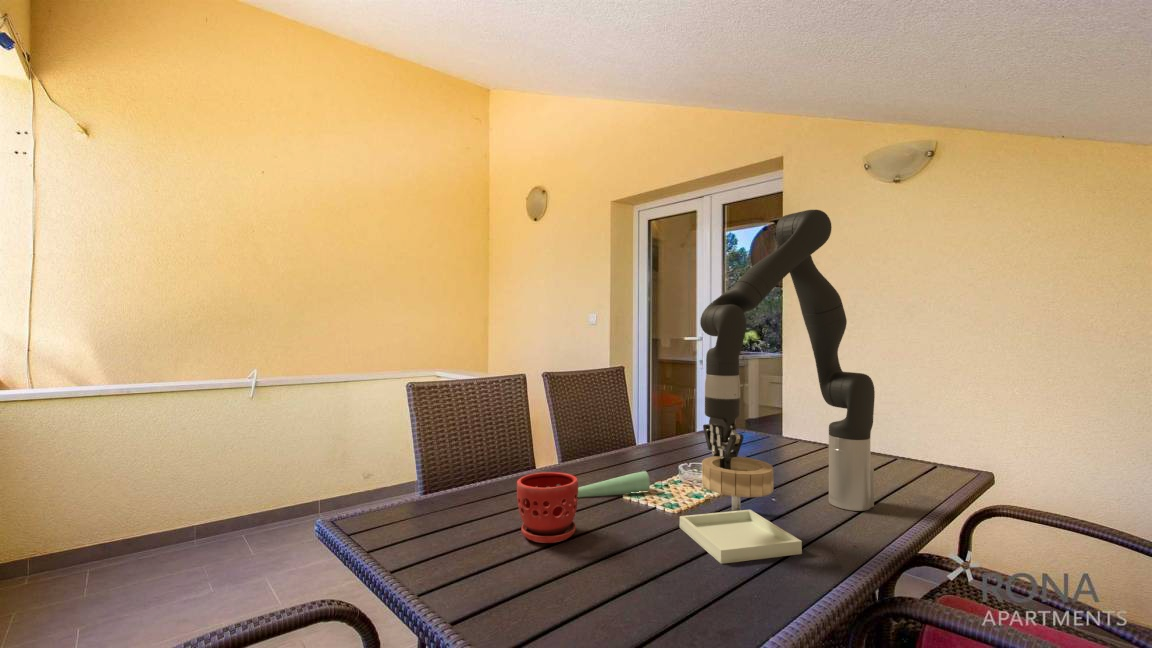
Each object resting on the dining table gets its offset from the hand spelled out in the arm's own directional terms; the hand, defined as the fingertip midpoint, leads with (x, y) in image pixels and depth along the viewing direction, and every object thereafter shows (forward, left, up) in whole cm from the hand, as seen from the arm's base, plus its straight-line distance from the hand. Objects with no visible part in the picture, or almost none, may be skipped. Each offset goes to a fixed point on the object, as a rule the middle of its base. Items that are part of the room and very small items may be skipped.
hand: (721, 473), depth 111 cm
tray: (0, +6, -12) cm, 14 cm away
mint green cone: (+20, -28, -13) cm, 37 cm away
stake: (-9, -9, -12) cm, 18 cm away
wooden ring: (0, +6, -1) cm, 6 cm away
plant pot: (+38, -6, -12) cm, 40 cm away
